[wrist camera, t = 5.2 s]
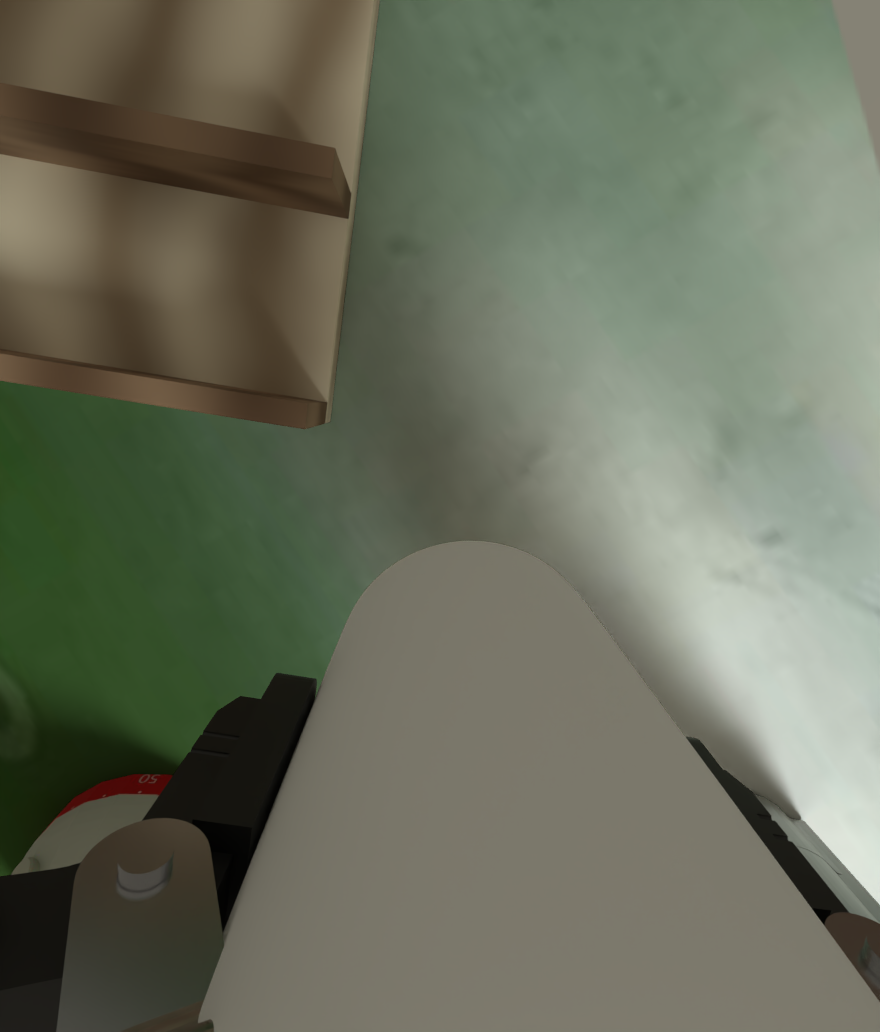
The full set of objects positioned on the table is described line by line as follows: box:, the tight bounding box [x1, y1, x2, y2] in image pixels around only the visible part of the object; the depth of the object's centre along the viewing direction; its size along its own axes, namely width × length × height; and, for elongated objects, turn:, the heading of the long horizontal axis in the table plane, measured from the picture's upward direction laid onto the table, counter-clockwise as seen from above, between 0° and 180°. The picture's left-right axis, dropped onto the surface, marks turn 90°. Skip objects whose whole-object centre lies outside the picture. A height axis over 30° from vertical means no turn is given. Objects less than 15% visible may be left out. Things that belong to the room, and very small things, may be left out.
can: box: [198, 541, 880, 1032], centre depth 8 cm, size 6×6×12 cm
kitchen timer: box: [11, 774, 172, 875], centre depth 25 cm, size 14×14×15 cm
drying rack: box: [0, 0, 380, 429], centre depth 21 cm, size 18×19×6 cm
